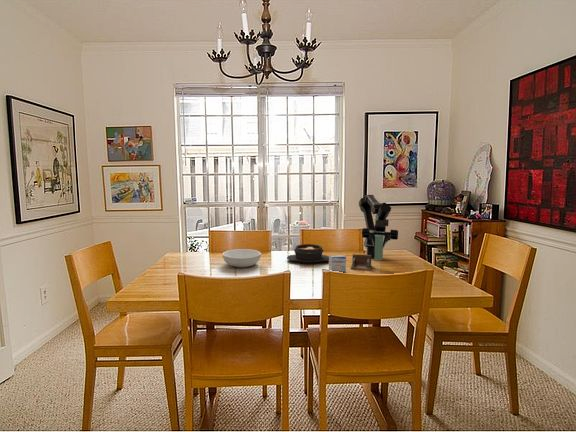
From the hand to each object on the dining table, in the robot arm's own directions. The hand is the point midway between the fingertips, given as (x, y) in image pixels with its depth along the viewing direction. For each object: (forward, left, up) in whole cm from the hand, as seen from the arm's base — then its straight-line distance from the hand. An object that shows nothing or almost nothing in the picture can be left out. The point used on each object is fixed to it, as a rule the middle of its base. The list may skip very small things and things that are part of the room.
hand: (378, 247), depth 187 cm
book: (-1, 0, -7) cm, 7 cm away
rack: (0, -9, -12) cm, 15 cm away
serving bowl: (+26, -69, -12) cm, 74 cm away
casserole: (+1, -40, -12) cm, 41 cm away
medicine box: (+15, -18, -12) cm, 26 cm away
